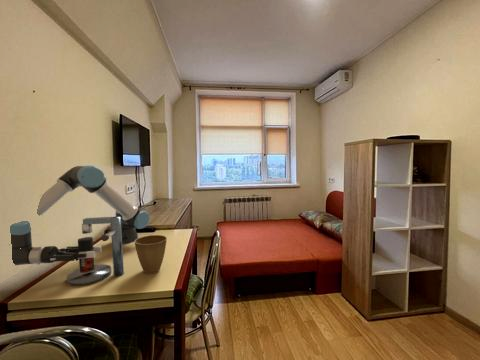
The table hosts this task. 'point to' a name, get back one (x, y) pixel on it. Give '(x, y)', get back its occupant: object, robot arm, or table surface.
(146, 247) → the plant pot
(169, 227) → the table surface
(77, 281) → the press
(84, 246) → the deodorant
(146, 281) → the table surface
